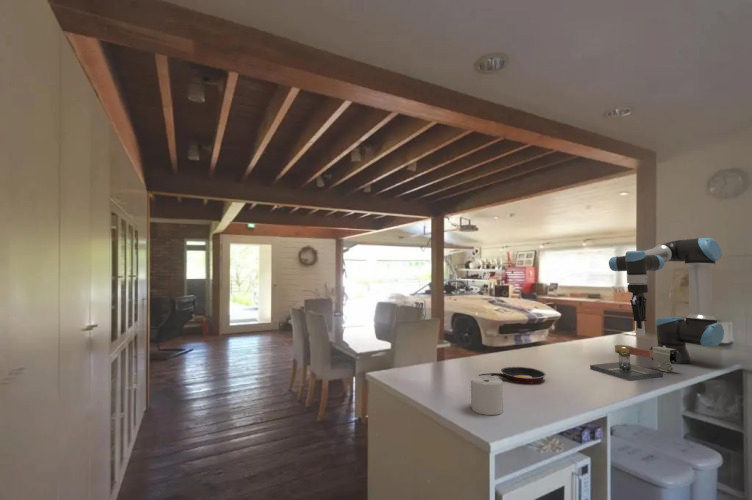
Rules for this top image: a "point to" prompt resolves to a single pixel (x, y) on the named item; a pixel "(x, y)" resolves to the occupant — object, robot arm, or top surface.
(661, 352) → the pneumatic valve
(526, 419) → the top surface
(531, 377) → the frying pan
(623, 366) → the grey plate with post
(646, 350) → the scoop with pink handle
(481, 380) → the toilet tissue
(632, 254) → the robot arm
